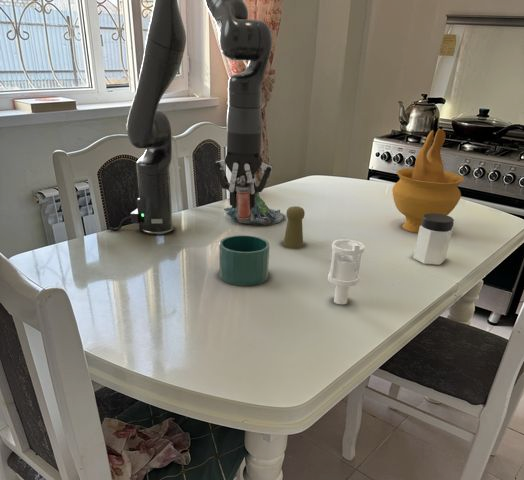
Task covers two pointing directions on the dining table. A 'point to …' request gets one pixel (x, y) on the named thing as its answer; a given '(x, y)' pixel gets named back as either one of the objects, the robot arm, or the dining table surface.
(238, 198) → the lighter
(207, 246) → the dining table surface
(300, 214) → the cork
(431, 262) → the jar
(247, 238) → the ceramic cup
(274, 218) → the tree stump
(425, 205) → the decorative bowl
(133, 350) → the dining table surface
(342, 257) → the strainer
